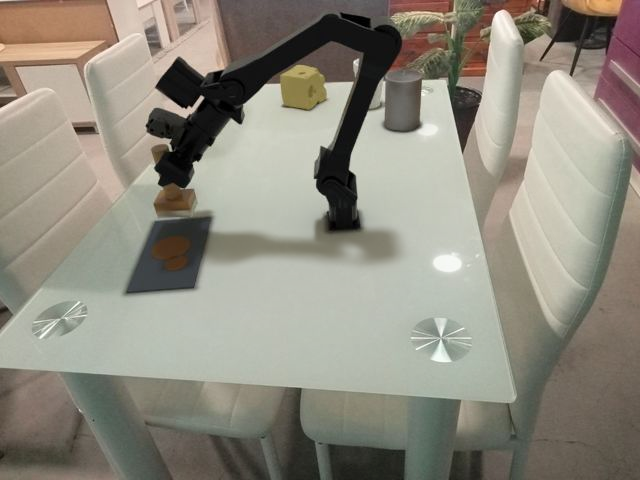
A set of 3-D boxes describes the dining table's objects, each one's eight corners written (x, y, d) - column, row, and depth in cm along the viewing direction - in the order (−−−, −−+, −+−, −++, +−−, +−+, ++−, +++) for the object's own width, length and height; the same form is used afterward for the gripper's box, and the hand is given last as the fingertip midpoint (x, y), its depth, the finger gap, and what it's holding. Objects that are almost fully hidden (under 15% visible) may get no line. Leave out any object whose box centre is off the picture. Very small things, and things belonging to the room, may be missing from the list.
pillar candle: (409, 114, 139) (412, 62, 130) (425, 127, 131) (429, 72, 122) (378, 121, 137) (379, 67, 128) (393, 134, 129) (394, 78, 120)
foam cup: (350, 102, 150) (348, 59, 142) (377, 97, 151) (377, 54, 144) (361, 112, 142) (360, 68, 134) (389, 107, 144) (390, 63, 136)
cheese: (327, 99, 153) (325, 67, 147) (308, 111, 146) (306, 78, 140) (300, 94, 158) (297, 63, 152) (281, 106, 151) (277, 74, 145)
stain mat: (193, 287, 85) (193, 286, 85) (126, 292, 85) (125, 291, 85) (211, 217, 102) (210, 216, 102) (155, 222, 102) (155, 220, 102)
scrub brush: (197, 202, 99) (181, 140, 91) (192, 216, 95) (174, 152, 87) (164, 204, 99) (145, 142, 91) (157, 218, 96) (136, 155, 87)
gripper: (180, 76, 90) (140, 134, 97) (150, 116, 75) (106, 180, 83) (228, 114, 94) (187, 166, 102) (210, 158, 80) (163, 216, 87)
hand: (162, 180), depth 93 cm, fingers closed on scrub brush, 3 cm apart
